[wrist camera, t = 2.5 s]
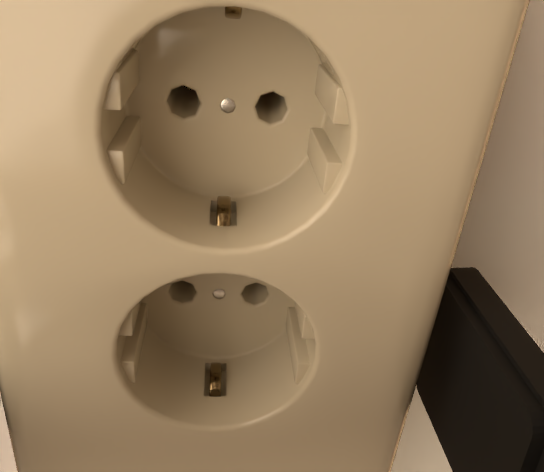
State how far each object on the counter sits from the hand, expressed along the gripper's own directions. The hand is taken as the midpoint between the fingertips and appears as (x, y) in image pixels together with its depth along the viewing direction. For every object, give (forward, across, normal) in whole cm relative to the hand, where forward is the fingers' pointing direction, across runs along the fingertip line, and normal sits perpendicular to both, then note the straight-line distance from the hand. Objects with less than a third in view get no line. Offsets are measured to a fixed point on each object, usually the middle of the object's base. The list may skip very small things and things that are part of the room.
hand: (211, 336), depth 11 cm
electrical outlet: (+2, 0, +1) cm, 2 cm away
